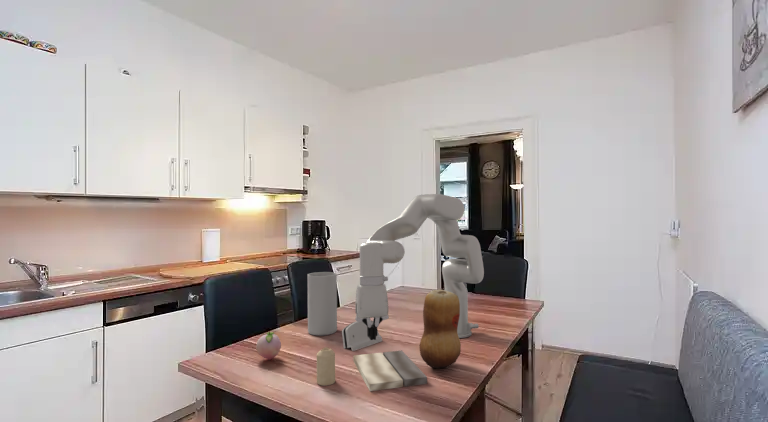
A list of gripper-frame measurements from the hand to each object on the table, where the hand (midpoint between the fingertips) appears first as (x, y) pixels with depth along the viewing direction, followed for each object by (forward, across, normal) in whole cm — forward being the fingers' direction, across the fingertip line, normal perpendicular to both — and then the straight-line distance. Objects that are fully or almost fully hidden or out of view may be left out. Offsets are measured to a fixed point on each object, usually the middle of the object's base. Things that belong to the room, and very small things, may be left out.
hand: (372, 338), depth 124 cm
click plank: (+11, -1, 0) cm, 11 cm away
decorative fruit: (+11, +32, -22) cm, 40 cm away
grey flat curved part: (+12, -3, -29) cm, 32 cm away
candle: (+11, +15, +2) cm, 19 cm away
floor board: (+11, -10, 0) cm, 15 cm away
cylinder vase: (+11, +10, -50) cm, 52 cm away
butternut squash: (+11, -23, +1) cm, 26 cm away
